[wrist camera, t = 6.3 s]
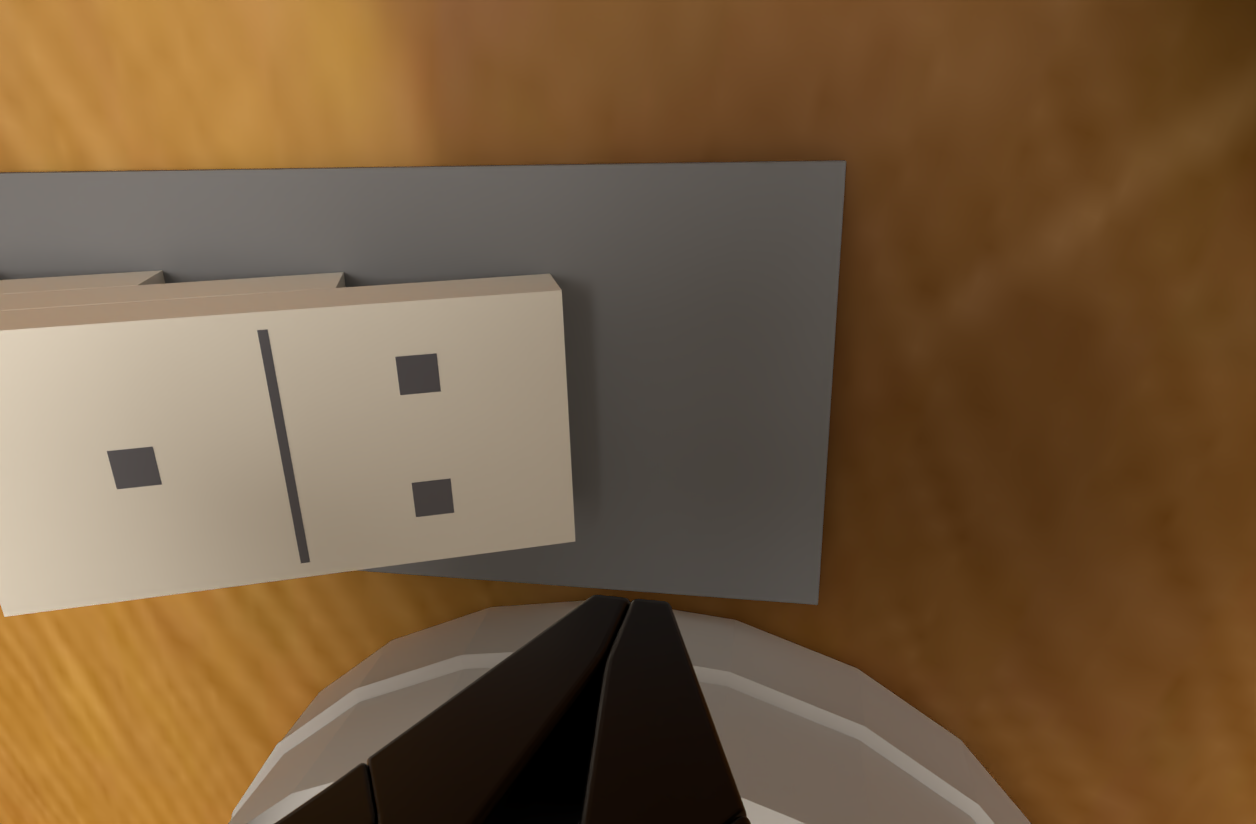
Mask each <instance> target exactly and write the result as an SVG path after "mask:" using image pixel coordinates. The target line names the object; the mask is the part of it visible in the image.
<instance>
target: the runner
mask: <svg viewBox="0 0 1256 824" xmlns="http://www.w3.org/2000/svg"><path fill="white" fill-rule="evenodd" d="M845 173H846V161H845V160H832V161H763V162H694V163H625V164H556V165H487V166H418V167H349V168H280V169H211V170H142V171H73V172H4V173H0V280H11V279H27V278H43V277H60V276H76V275H93V274H109V273H126V272H142V271H159V270H162V271H163V276H164V280H165V284H166V283H181V282H197V281H212V280H228V279H243V278H259V277H275V276H290V275H306V274H321V273H337V272H344V278H345V285H346V287H359V286H373V285H388V284H403V283H418V282H432V281H447V280H462V279H477V278H491V277H506V276H521V275H536V274H550V275H551V276H552V277H553V279H554V280H555V282H556V283H557V284H558V286H559V287H560V289H561V290H562V305H563V323H564V341H565V359H566V378H567V396H568V414H569V433H570V451H571V469H572V487H573V506H574V524H575V542H568V543H560V544H552V545H545V546H537V547H530V548H522V549H515V550H507V551H499V552H492V553H484V554H477V555H469V556H461V557H454V558H446V559H439V560H431V561H424V562H416V563H408V564H401V565H393V566H386V567H378V568H371V569H363V570H357V571H370V572H384V573H397V574H410V575H424V576H437V577H451V578H464V579H478V580H491V581H504V582H518V583H531V584H545V585H558V586H572V587H585V588H599V589H612V590H625V591H639V592H652V593H666V594H679V595H693V596H706V597H720V598H733V599H746V600H760V601H773V602H787V603H800V604H814V605H818V596H819V580H820V565H821V549H822V533H823V518H824V502H825V486H826V471H827V455H828V439H829V424H830V408H831V392H832V377H833V361H834V345H835V330H836V314H837V298H838V282H839V267H840V251H841V235H842V220H843V204H844V188H845Z"/></svg>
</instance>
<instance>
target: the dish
mask: <svg viewBox="0 0 1256 824" xmlns="http://www.w3.org/2000/svg"><path fill="white" fill-rule="evenodd" d="M582 602H584V601H570V602H556V603H542V604H528V605H514V606H500V607H489V608H486V609H483V610H480V611H477V612H474V613H472V614H469V615H466V616H463V617H460V618H457V619H454V620H451V621H448V622H445V623H442V624H439V625H436V626H433V627H430V628H427V629H424V630H421V631H418V632H415V633H412V634H409V635H406V636H403V637H400V638H397V639H394V640H392V641H390V642H389V643H387V644H386V645H385V646H383V647H382V648H380V649H379V650H378V651H376V652H375V653H373V654H372V655H371V656H369V657H368V658H366V659H365V660H364V661H362V662H361V663H359V664H358V665H357V666H355V667H354V668H353V669H351V670H350V671H348V672H347V673H346V674H344V675H343V676H341V677H340V678H339V679H337V680H336V681H334V682H333V683H332V684H330V685H329V686H327V687H326V688H325V689H323V690H322V691H320V692H319V693H318V695H317V696H316V697H315V699H314V700H313V701H312V702H311V704H310V705H309V706H308V707H307V709H306V710H305V711H304V713H303V714H302V715H301V716H300V718H299V719H298V720H297V722H296V723H295V724H294V725H293V727H292V728H291V729H290V731H289V732H288V733H287V734H286V736H285V737H284V738H283V740H282V741H281V742H279V743H278V744H277V745H276V747H275V748H274V750H273V751H272V753H271V754H270V756H269V757H268V759H267V760H266V762H265V764H264V765H263V767H262V768H261V770H260V771H259V773H258V774H257V776H256V777H255V779H254V780H253V782H252V783H251V785H250V786H249V788H248V789H247V791H246V792H245V794H244V795H243V797H242V799H241V800H240V802H239V803H238V805H237V806H236V808H235V809H234V811H233V813H232V818H231V821H230V822H229V823H228V824H274V823H275V822H277V821H279V820H280V819H281V818H283V817H284V816H286V815H287V814H289V813H290V812H292V811H293V810H295V809H296V808H297V807H299V806H300V805H302V804H303V803H305V802H306V801H308V800H309V799H311V798H312V797H313V796H315V795H316V794H318V793H319V792H321V791H322V790H324V789H325V788H326V787H328V786H329V785H331V784H332V783H334V782H335V781H336V780H338V779H339V778H340V777H342V776H343V775H345V774H346V773H347V772H349V771H350V770H351V769H353V768H354V767H356V766H357V765H358V764H360V763H365V764H367V759H368V758H369V757H370V756H371V755H373V754H374V753H375V752H377V751H378V750H380V749H381V748H382V747H384V746H385V745H386V744H388V743H389V742H391V741H392V740H393V739H395V738H396V737H398V736H399V735H400V734H402V733H403V732H404V731H406V730H407V729H409V728H410V727H411V726H413V725H414V724H415V723H417V722H418V721H420V720H421V719H422V718H424V717H425V716H427V715H428V714H429V713H431V712H432V711H433V710H435V709H436V708H438V707H439V706H440V705H442V704H443V703H444V702H446V701H447V700H449V699H450V698H451V697H453V696H454V695H455V694H457V693H458V692H460V691H461V690H462V689H464V688H465V687H467V686H468V685H469V684H471V683H472V682H473V681H475V680H476V679H478V678H479V677H480V676H482V675H483V674H484V673H486V672H487V671H489V670H490V669H491V668H493V667H494V666H496V665H497V664H498V663H500V662H501V661H502V660H504V659H505V658H507V657H508V656H509V655H511V654H512V653H513V652H515V651H516V650H518V649H519V648H520V647H522V646H523V645H525V644H526V643H527V642H529V641H530V640H531V639H533V638H534V637H536V636H537V635H538V634H540V633H541V632H542V631H544V630H545V629H547V628H548V627H549V626H551V625H552V624H553V623H555V622H556V621H558V620H559V619H560V618H562V617H563V616H565V615H566V614H567V613H569V612H570V611H571V610H573V609H574V608H576V607H577V606H578V605H580V604H581V603H582ZM630 603H631V602H630ZM672 610H673V609H672ZM673 613H674V616H675V618H676V621H677V624H678V627H679V629H680V632H681V635H682V637H683V640H684V643H685V646H686V648H687V651H688V654H689V657H690V659H691V662H692V665H693V668H694V670H695V673H696V676H697V679H698V681H699V684H700V687H701V690H702V692H703V695H704V698H705V700H706V703H707V706H708V709H709V711H710V714H711V717H712V720H713V722H714V725H715V728H716V731H717V733H718V736H719V739H720V742H721V744H722V747H723V750H724V753H725V755H726V758H727V761H728V763H729V766H730V769H731V772H732V774H733V777H734V780H735V783H736V785H737V788H738V791H739V794H740V796H741V799H742V802H743V805H744V807H745V810H746V814H747V818H748V819H749V820H750V822H751V824H1031V823H1030V822H1029V820H1028V819H1027V818H1026V817H1025V816H1024V814H1023V813H1022V812H1021V811H1020V810H1019V809H1018V807H1017V806H1016V805H1015V804H1014V803H1013V801H1012V800H1011V799H1010V798H1009V797H1008V795H1007V794H1006V793H1005V792H1004V791H1003V790H1002V788H1001V787H1000V786H999V785H998V784H997V782H996V781H995V780H994V779H993V778H992V776H991V775H990V774H989V773H988V772H987V771H986V769H985V768H984V767H983V766H982V765H981V763H980V762H979V761H978V760H977V759H976V757H975V756H974V755H973V754H972V753H971V752H970V750H969V749H968V748H967V747H966V746H965V744H964V743H963V742H962V741H961V740H960V739H959V738H957V737H956V736H954V735H953V734H951V733H950V732H949V731H947V730H946V729H944V728H943V727H941V726H940V725H938V724H937V723H936V722H934V721H933V720H931V719H930V718H928V717H927V716H925V715H924V714H923V713H921V712H920V711H918V710H917V709H915V708H914V707H912V706H911V705H910V704H908V703H907V702H905V701H904V700H902V699H901V698H899V697H898V696H897V695H895V694H894V693H892V692H891V691H889V690H888V689H886V688H885V687H884V686H882V685H881V684H879V683H878V682H876V681H875V680H873V679H872V678H870V677H869V676H868V675H866V674H865V673H863V672H862V671H860V670H859V669H857V668H855V667H852V666H850V665H847V664H845V663H842V662H840V661H837V660H835V659H832V658H830V657H827V656H825V655H822V654H820V653H817V652H815V651H812V650H810V649H807V648H805V647H802V646H800V645H797V644H795V643H792V642H790V641H787V640H785V639H782V638H780V637H777V636H775V635H772V634H770V633H767V632H765V631H762V630H760V629H757V628H755V627H752V626H750V625H747V624H745V623H742V622H740V621H737V620H734V619H728V618H722V617H715V616H709V615H703V614H697V613H691V612H685V611H679V610H673ZM367 767H368V766H367Z"/></svg>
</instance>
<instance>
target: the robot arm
mask: <svg viewBox="0 0 1256 824" xmlns="http://www.w3.org/2000/svg"><path fill="white" fill-rule="evenodd" d="M367 766H368V767H367ZM274 824H751V822H750V820H749V819H748V818H747V814H746V810H745V807H744V805H743V802H742V799H741V796H740V794H739V791H738V788H737V785H736V783H735V780H734V777H733V774H732V772H731V769H730V766H729V763H728V761H727V758H726V755H725V753H724V750H723V747H722V744H721V742H720V739H719V736H718V733H717V731H716V728H715V725H714V722H713V720H712V717H711V714H710V711H709V709H708V706H707V703H706V700H705V698H704V695H703V692H702V690H701V687H700V684H699V681H698V679H697V676H696V673H695V670H694V668H693V665H692V662H691V659H690V657H689V654H688V651H687V648H686V646H685V643H684V640H683V637H682V635H681V632H680V629H679V627H678V624H677V621H676V618H675V616H674V613H673V610H672V607H671V606H670V604H669V603H667V602H665V601H655V600H644V599H635V600H633V601H632V602H631V603H630V601H629V600H628V599H627V598H623V597H613V596H603V595H593V596H591V597H590V598H588V599H587V600H585V601H584V602H582V603H581V604H580V605H578V606H577V607H576V608H574V609H573V610H571V611H570V612H569V613H567V614H566V615H565V616H563V617H562V618H560V619H559V620H558V621H556V622H555V623H553V624H552V625H551V626H549V627H548V628H547V629H545V630H544V631H542V632H541V633H540V634H538V635H537V636H536V637H534V638H533V639H531V640H530V641H529V642H527V643H526V644H525V645H523V646H522V647H520V648H519V649H518V650H516V651H515V652H513V653H512V654H511V655H509V656H508V657H507V658H505V659H504V660H502V661H501V662H500V663H498V664H497V665H496V666H494V667H493V668H491V669H490V670H489V671H487V672H486V673H484V674H483V675H482V676H480V677H479V678H478V679H476V680H475V681H473V682H472V683H471V684H469V685H468V686H467V687H465V688H464V689H462V690H461V691H460V692H458V693H457V694H455V695H454V696H453V697H451V698H450V699H449V700H447V701H446V702H444V703H443V704H442V705H440V706H439V707H438V708H436V709H435V710H433V711H432V712H431V713H429V714H428V715H427V716H425V717H424V718H422V719H421V720H420V721H418V722H417V723H415V724H414V725H413V726H411V727H410V728H409V729H407V730H406V731H404V732H403V733H402V734H400V735H399V736H398V737H396V738H395V739H393V740H392V741H391V742H389V743H388V744H386V745H385V746H384V747H382V748H381V749H380V750H378V751H377V752H375V753H374V754H373V755H371V756H370V757H369V758H368V759H367V764H365V763H360V764H358V765H357V766H356V767H354V768H353V769H351V770H350V771H349V772H347V773H346V774H345V775H343V776H342V777H340V778H339V779H338V780H336V781H335V782H334V783H332V784H331V785H329V786H328V787H326V788H325V789H324V790H322V791H321V792H319V793H318V794H316V795H315V796H313V797H312V798H311V799H309V800H308V801H306V802H305V803H303V804H302V805H300V806H299V807H297V808H296V809H295V810H293V811H292V812H290V813H289V814H287V815H286V816H284V817H283V818H281V819H280V820H279V821H277V822H275V823H274Z"/></svg>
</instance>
